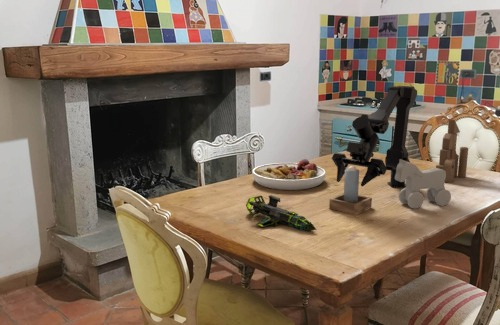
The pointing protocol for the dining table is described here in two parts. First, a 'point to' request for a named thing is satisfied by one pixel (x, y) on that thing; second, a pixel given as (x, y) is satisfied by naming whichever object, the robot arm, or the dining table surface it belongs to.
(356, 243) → the dining table surface
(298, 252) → the dining table surface
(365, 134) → the robot arm
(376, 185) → the dining table surface
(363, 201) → the square wooden tray
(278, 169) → the bowl
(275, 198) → the aircraft
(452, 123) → the wooden toy
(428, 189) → the pony
